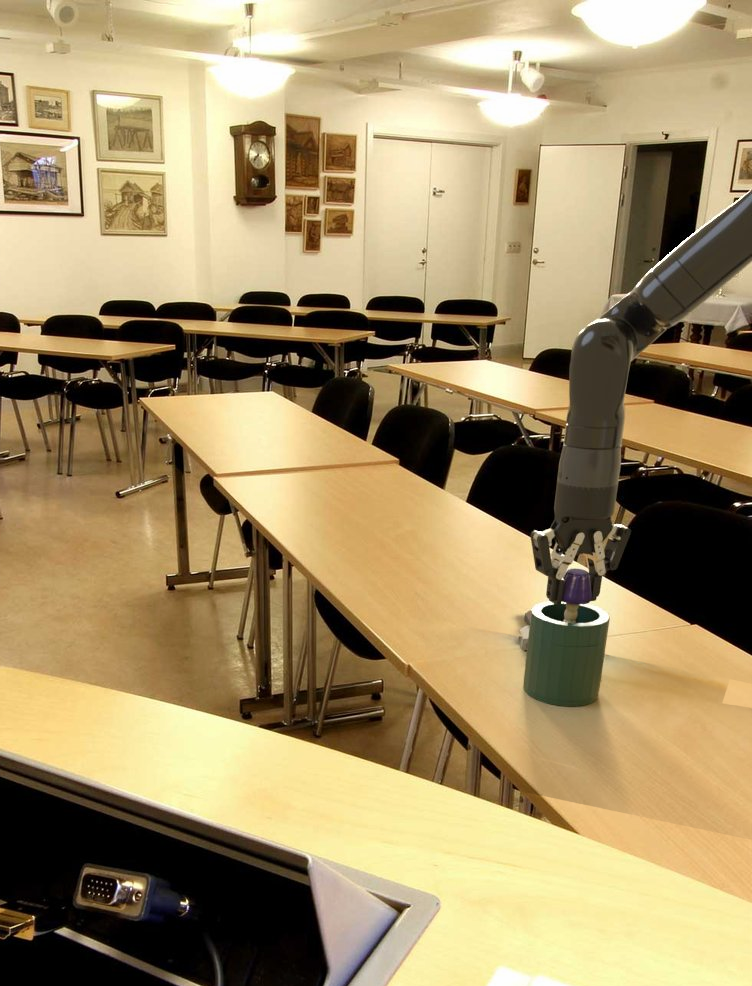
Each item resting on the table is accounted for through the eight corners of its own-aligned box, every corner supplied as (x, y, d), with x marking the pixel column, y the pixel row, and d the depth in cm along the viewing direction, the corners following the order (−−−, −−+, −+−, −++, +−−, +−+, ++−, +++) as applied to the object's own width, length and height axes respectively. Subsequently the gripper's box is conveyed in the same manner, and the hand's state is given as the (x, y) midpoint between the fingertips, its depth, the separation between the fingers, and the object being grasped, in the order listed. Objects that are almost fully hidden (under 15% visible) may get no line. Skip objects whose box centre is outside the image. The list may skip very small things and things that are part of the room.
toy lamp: (580, 677, 131) (596, 567, 125) (577, 690, 128) (594, 578, 121) (545, 672, 133) (560, 563, 127) (541, 684, 129) (556, 573, 123)
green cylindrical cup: (605, 685, 132) (616, 608, 128) (588, 712, 125) (600, 631, 120) (534, 671, 138) (543, 596, 133) (514, 696, 130) (522, 617, 125)
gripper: (553, 488, 115) (539, 615, 121) (654, 481, 117) (635, 605, 124) (523, 477, 122) (511, 597, 128) (619, 470, 124) (602, 588, 131)
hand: (572, 600), depth 126 cm, fingers closed on toy lamp, 4 cm apart
